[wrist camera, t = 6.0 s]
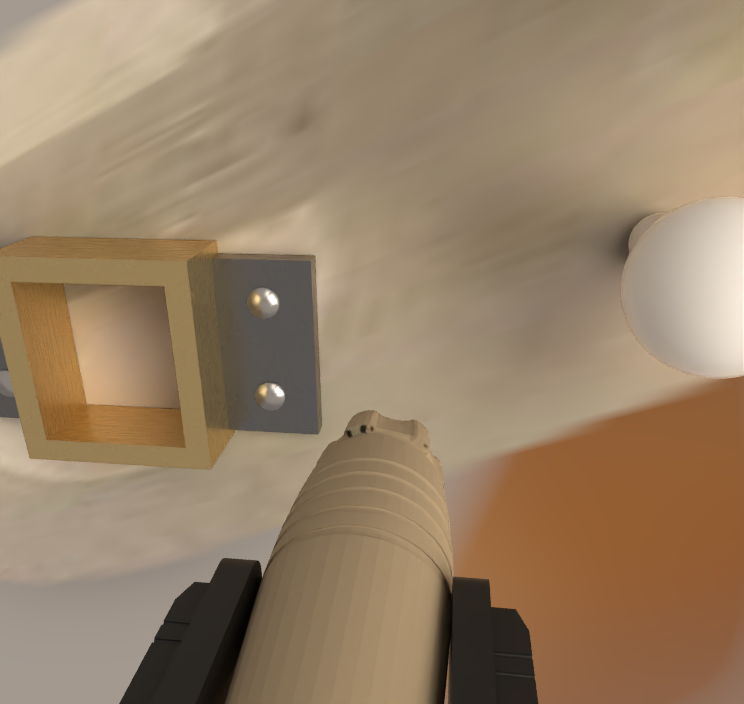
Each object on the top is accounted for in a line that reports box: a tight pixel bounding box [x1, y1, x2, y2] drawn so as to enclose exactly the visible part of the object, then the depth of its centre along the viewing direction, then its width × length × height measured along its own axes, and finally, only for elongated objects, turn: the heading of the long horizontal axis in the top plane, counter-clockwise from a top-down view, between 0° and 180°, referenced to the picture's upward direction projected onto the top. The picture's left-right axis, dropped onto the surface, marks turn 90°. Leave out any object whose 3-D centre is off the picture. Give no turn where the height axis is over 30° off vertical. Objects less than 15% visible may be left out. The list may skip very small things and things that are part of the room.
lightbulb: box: [620, 196, 744, 378], centre depth 25 cm, size 6×6×11 cm
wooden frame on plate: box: [0, 237, 322, 470], centre depth 34 cm, size 11×20×4 cm, turn 90°
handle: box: [225, 410, 453, 704], centre depth 12 cm, size 5×6×15 cm
